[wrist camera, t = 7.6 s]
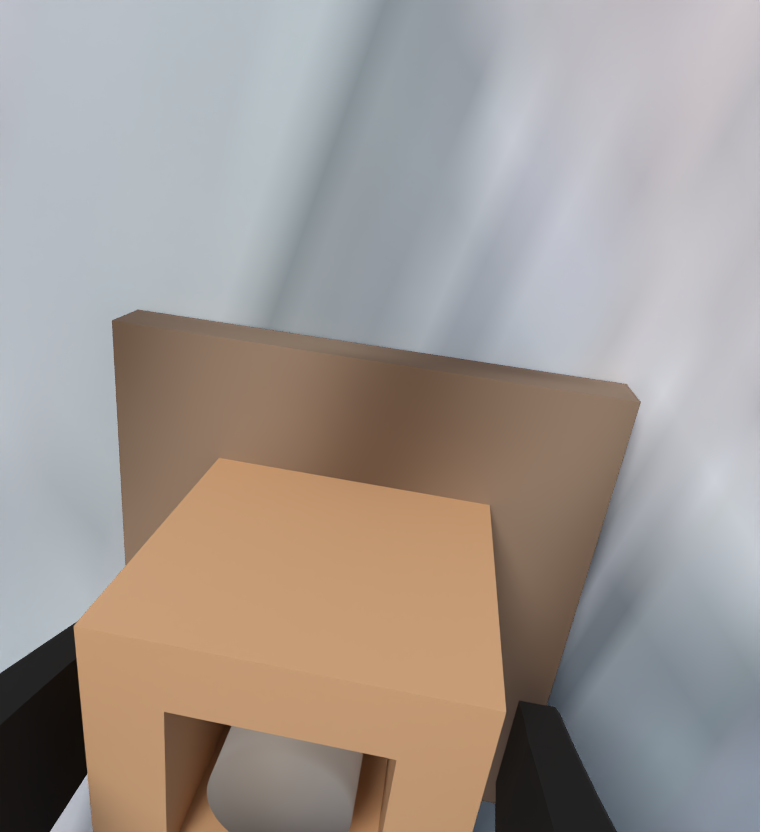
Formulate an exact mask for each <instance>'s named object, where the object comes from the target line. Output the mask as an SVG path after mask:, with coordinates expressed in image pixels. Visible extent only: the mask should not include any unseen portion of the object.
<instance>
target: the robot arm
mask: <svg viewBox="0 0 760 832" xmlns="http://www.w3.org/2000/svg"><path fill="white" fill-rule="evenodd" d="M77 622H78V621H77ZM77 622H76V623H77ZM76 623H74V624H73V625H71V626H70V627H68V628H67V629H65V630H64V631H62V632H61V633H59V634H58V635H56V636H55V637H53V638H52V639H50V640H49V641H47V642H46V643H44V644H43V645H41V646H40V647H38V648H37V649H36V650H34V651H33V652H31V653H30V654H28V655H27V656H25V657H24V658H22V659H21V660H19V661H18V662H16V663H15V664H13V665H12V666H10V667H9V668H7V669H6V670H4V671H3V672H1V673H0V832H50V831H51V829H52V828H53V826H54V824H55V823H56V821H57V820H58V818H59V817H60V815H61V814H62V812H63V811H64V809H65V808H66V806H67V804H68V803H69V801H70V800H71V798H72V797H73V795H74V794H75V792H76V790H77V789H78V787H79V786H80V784H81V783H82V781H83V780H84V778H85V776H86V775H87V763H86V752H85V742H84V731H83V721H82V710H81V700H80V689H79V679H78V668H77V658H76V647H75V636H74V625H75V624H76ZM495 832H617V831H616V829H615V827H614V826H613V824H612V822H611V820H610V818H609V816H608V814H607V812H606V810H605V808H604V807H603V805H602V803H601V801H600V799H599V797H598V795H597V793H596V791H595V789H594V787H593V785H592V782H591V780H590V778H589V776H588V774H587V772H586V770H585V768H584V766H583V764H582V762H581V760H580V758H579V755H578V753H577V751H576V749H575V747H574V745H573V742H572V740H571V738H570V736H569V734H568V731H567V729H566V727H565V725H564V722H563V720H562V718H561V715H560V713H559V712H558V711H557V709H556V708H555V707H551V706H546V705H541V704H536V703H530V702H525V701H520V700H519V702H518V706H517V709H516V713H515V716H514V720H513V723H512V727H511V730H510V734H509V737H508V741H507V744H506V748H505V751H504V755H503V758H502V762H501V765H500V769H499V772H498V776H497V779H496V804H495Z"/></svg>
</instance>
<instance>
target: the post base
mask: <svg viewBox="0 0 760 832" xmlns="http://www.w3.org/2000/svg"><path fill="white" fill-rule="evenodd" d="M112 329H113V347H114V365H115V384H116V402H117V420H118V438H119V456H120V474H121V493H122V511H123V529H124V547H125V565H127V564H128V563H129V561H130V560H131V559H132V558H133V557H134V556H135V554H136V553H137V552H138V551H139V550H140V549H141V548H142V546H143V545H144V544H145V543H146V542H147V541H148V539H149V538H150V537H151V536H152V535H153V534H154V532H155V531H156V530H157V529H158V528H159V527H160V526H161V524H162V523H163V522H164V521H165V520H166V519H167V517H168V516H169V515H170V514H171V513H172V512H173V511H174V509H175V508H176V507H177V506H178V505H179V504H180V502H181V501H182V500H183V499H184V498H185V497H186V495H187V494H188V493H189V492H190V491H191V490H192V489H193V487H194V486H195V485H196V484H197V483H198V482H199V480H200V479H201V478H202V477H203V476H204V475H205V474H206V472H207V471H208V470H209V469H210V468H211V467H212V465H213V464H214V463H215V462H216V461H217V460H218V458H222V459H228V460H234V461H240V462H245V463H251V464H257V465H263V466H268V467H274V468H280V469H285V470H291V471H297V472H303V473H308V474H314V475H320V476H326V477H331V478H337V479H343V480H349V481H354V482H360V483H366V484H371V485H377V486H383V487H389V488H394V489H400V490H406V491H412V492H417V493H423V494H429V495H435V496H440V497H446V498H452V499H457V500H463V501H469V502H475V503H480V504H486V505H490V514H491V527H492V539H493V552H494V564H495V577H496V589H497V602H498V614H499V627H500V640H501V652H502V665H503V677H504V690H505V702H506V715H505V719H504V722H503V726H502V729H501V733H500V736H499V740H498V743H497V747H496V750H495V754H494V757H493V761H492V764H491V768H490V771H489V775H488V779H487V782H486V786H485V789H484V793H483V796H482V801H487V802H491V803H496V779H497V776H498V772H499V769H500V765H501V762H502V758H503V755H504V751H505V748H506V744H507V741H508V737H509V734H510V730H511V727H512V723H513V720H514V716H515V713H516V709H517V706H518V702H519V700H520V701H525V702H530V703H536V704H541V705H546V706H547V702H548V699H549V696H550V693H551V690H552V686H553V683H554V680H555V677H556V673H557V670H558V667H559V664H560V661H561V657H562V654H563V651H564V648H565V644H566V641H567V638H568V635H569V632H570V628H571V625H572V622H573V619H574V615H575V612H576V609H577V606H578V603H579V599H580V596H581V593H582V590H583V586H584V583H585V580H586V577H587V574H588V570H589V567H590V564H591V561H592V557H593V554H594V551H595V548H596V545H597V541H598V538H599V535H600V532H601V528H602V525H603V522H604V519H605V516H606V512H607V509H608V506H609V503H610V499H611V496H612V493H613V490H614V487H615V483H616V480H617V477H618V474H619V470H620V467H621V464H622V461H623V458H624V454H625V451H626V448H627V445H628V441H629V438H630V435H631V432H632V429H633V425H634V422H635V419H636V416H637V412H638V409H639V406H640V403H641V402H640V401H639V399H638V398H637V397H636V396H635V394H634V393H633V392H632V390H631V389H630V388H629V387H628V385H627V384H621V383H615V382H608V381H602V380H595V379H589V378H582V377H576V376H569V375H562V374H556V373H549V372H543V371H536V370H530V369H523V368H517V367H510V366H503V365H497V364H490V363H484V362H477V361H471V360H464V359H458V358H451V357H445V356H438V355H431V354H425V353H418V352H412V351H405V350H399V349H392V348H386V347H379V346H372V345H366V344H359V343H353V342H346V341H340V340H333V339H327V338H320V337H313V336H307V335H300V334H294V333H287V332H281V331H274V330H268V329H261V328H254V327H248V326H241V325H235V324H228V323H222V322H215V321H209V320H202V319H196V318H189V317H182V316H176V315H169V314H163V313H156V312H150V311H143V310H136V311H134V312H131V313H129V314H127V315H124V316H122V317H119V318H117V319H114V320H112ZM362 758H363V753H360V752H356V751H351V750H346V749H341V748H336V747H332V746H327V745H322V744H317V743H312V742H307V741H303V740H298V739H293V738H288V737H283V736H278V735H274V734H269V733H264V732H259V731H254V730H250V729H245V728H240V727H235V726H231V728H230V731H229V733H228V736H227V738H226V740H225V743H224V745H223V747H222V750H221V752H220V755H219V757H218V759H217V762H216V764H215V766H214V769H213V771H212V774H211V776H210V778H209V781H208V785H207V799H208V803H209V806H210V808H211V810H212V812H213V814H214V815H215V817H216V818H217V820H218V821H219V822H220V823H221V825H222V826H223V827H224V828H225V829H226V830H228V831H229V832H348V831H349V829H350V826H351V822H352V816H353V810H354V805H355V799H356V793H357V787H358V782H359V776H360V770H361V764H362Z"/></svg>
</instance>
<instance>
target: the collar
mask: <svg viewBox="0 0 760 832" xmlns="http://www.w3.org/2000/svg"><path fill="white" fill-rule="evenodd" d="M74 636H75V647H76V658H77V668H78V679H79V689H80V700H81V710H82V721H83V731H84V742H85V752H86V763H87V773H88V784H89V794H90V805H91V815H92V826H93V832H229V831H228V830H226V829H225V828H224V827H223V826H222V825H221V823H220V822H219V821H218V820H217V818H216V817H215V815H214V814H213V812H212V810H211V808H210V806H209V803H208V799H207V785H208V781H209V778H210V776H211V774H212V771H213V769H214V766H215V764H216V762H217V759H218V757H219V755H220V752H221V750H222V747H223V745H224V743H225V740H226V738H227V736H228V733H229V731H230V728H231V726H235V727H240V728H245V729H250V730H254V731H259V732H264V733H269V734H274V735H278V736H283V737H288V738H293V739H298V740H303V741H307V742H312V743H317V744H322V745H327V746H332V747H336V748H341V749H346V750H351V751H356V752H360V753H363V758H362V764H361V770H360V776H359V782H358V787H357V793H356V799H355V805H354V810H353V816H352V822H351V826H350V829H349V831H348V832H472V831H473V828H474V824H475V821H476V817H477V814H478V810H479V807H480V803H481V800H482V796H483V793H484V789H485V786H486V782H487V779H488V775H489V771H490V768H491V764H492V761H493V757H494V754H495V750H496V747H497V743H498V740H499V736H500V733H501V729H502V726H503V722H504V719H505V715H506V702H505V690H504V677H503V665H502V652H501V640H500V627H499V614H498V602H497V589H496V577H495V564H494V552H493V539H492V527H491V514H490V505H486V504H480V503H475V502H469V501H463V500H457V499H452V498H446V497H440V496H435V495H429V494H423V493H417V492H412V491H406V490H400V489H394V488H389V487H383V486H377V485H371V484H366V483H360V482H354V481H349V480H343V479H337V478H331V477H326V476H320V475H314V474H308V473H303V472H297V471H291V470H285V469H280V468H274V467H268V466H263V465H257V464H251V463H245V462H240V461H234V460H228V459H222V458H218V460H217V461H216V462H215V463H214V464H213V465H212V467H211V468H210V469H209V470H208V471H207V472H206V474H205V475H204V476H203V477H202V478H201V479H200V480H199V482H198V483H197V484H196V485H195V486H194V487H193V489H192V490H191V491H190V492H189V493H188V494H187V495H186V497H185V498H184V499H183V500H182V501H181V502H180V504H179V505H178V506H177V507H176V508H175V509H174V511H173V512H172V513H171V514H170V515H169V516H168V517H167V519H166V520H165V521H164V522H163V523H162V524H161V526H160V527H159V528H158V529H157V530H156V531H155V532H154V534H153V535H152V536H151V537H150V538H149V539H148V541H147V542H146V543H145V544H144V545H143V546H142V548H141V549H140V550H139V551H138V552H137V553H136V554H135V556H134V557H133V558H132V559H131V560H130V561H129V563H128V564H127V565H126V566H125V567H124V568H123V569H122V571H121V572H120V573H119V574H118V575H117V576H116V578H115V579H114V580H113V581H112V582H111V583H110V585H109V586H108V587H107V588H106V589H105V590H104V591H103V593H102V594H101V595H100V596H99V597H98V598H97V600H96V601H95V602H94V603H93V604H92V605H91V606H90V608H89V609H88V610H87V611H86V612H85V613H84V615H83V616H82V617H81V618H80V619H79V620H78V622H77V623H76V624H75V625H74Z"/></svg>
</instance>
